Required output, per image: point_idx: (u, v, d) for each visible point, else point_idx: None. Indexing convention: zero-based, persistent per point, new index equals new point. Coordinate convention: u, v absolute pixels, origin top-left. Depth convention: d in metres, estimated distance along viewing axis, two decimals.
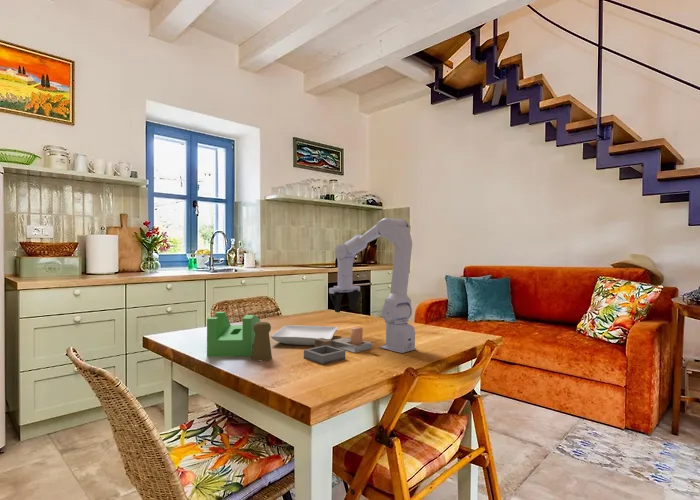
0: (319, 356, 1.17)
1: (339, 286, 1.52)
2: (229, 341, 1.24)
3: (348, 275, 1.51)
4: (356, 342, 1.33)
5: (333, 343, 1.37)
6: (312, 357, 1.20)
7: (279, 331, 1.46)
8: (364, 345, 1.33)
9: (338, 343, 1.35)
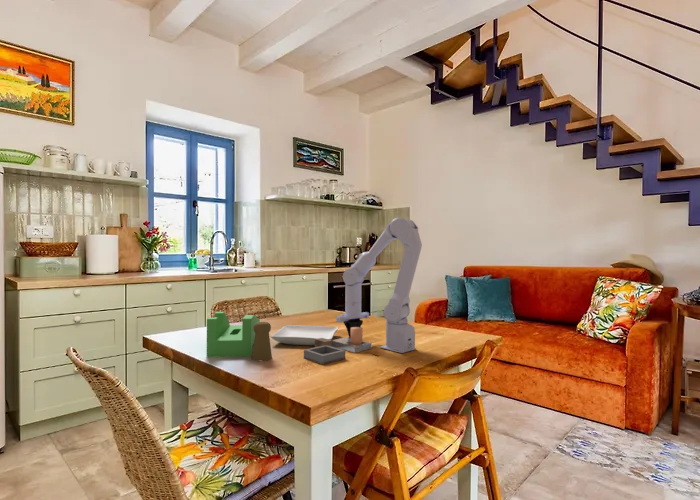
0: (319, 356, 1.17)
1: (347, 314, 1.41)
2: (229, 341, 1.24)
3: (359, 302, 1.41)
4: (356, 342, 1.33)
5: (333, 343, 1.37)
6: (312, 357, 1.20)
7: (279, 331, 1.46)
8: (364, 345, 1.33)
9: (338, 343, 1.35)
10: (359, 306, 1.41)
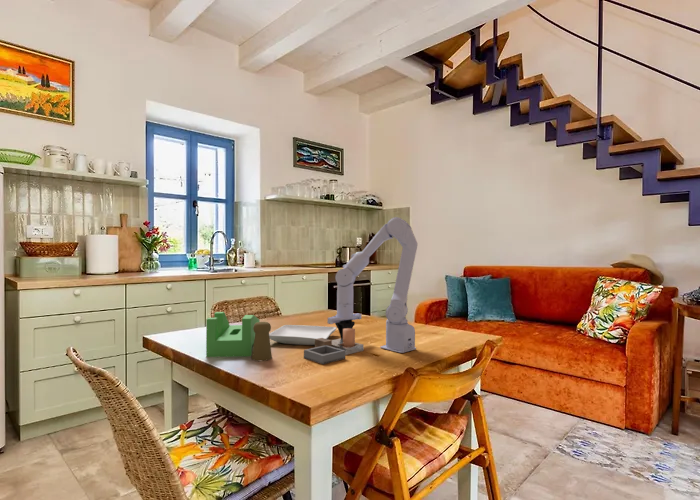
0: (319, 356, 1.17)
1: (338, 315, 1.38)
2: (229, 341, 1.24)
3: (352, 303, 1.39)
4: (348, 344, 1.30)
5: None
6: (312, 357, 1.20)
7: (277, 330, 1.47)
8: (356, 347, 1.30)
9: None
10: (351, 307, 1.38)
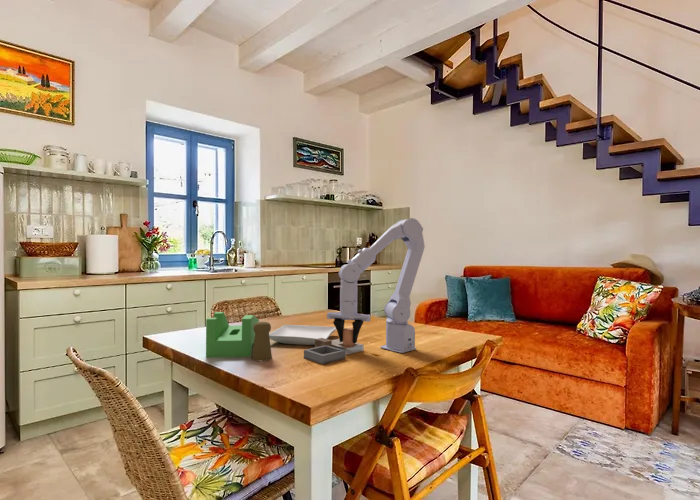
0: (319, 356, 1.17)
1: None
2: (228, 341, 1.23)
3: None
4: (347, 344, 1.30)
5: None
6: (312, 357, 1.20)
7: (277, 330, 1.47)
8: (356, 347, 1.30)
9: None
10: (347, 305, 1.29)
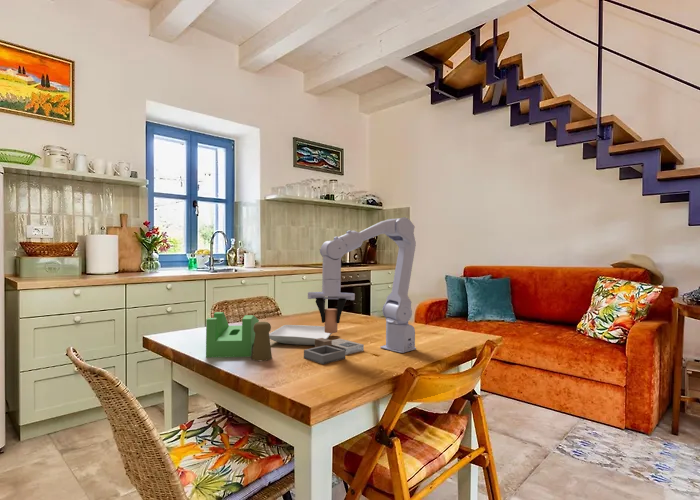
0: (319, 356, 1.17)
1: None
2: (228, 342, 1.23)
3: (340, 278, 1.25)
4: (330, 325, 1.24)
5: None
6: (312, 357, 1.20)
7: (277, 330, 1.47)
8: (356, 347, 1.30)
9: None
10: (331, 283, 1.22)
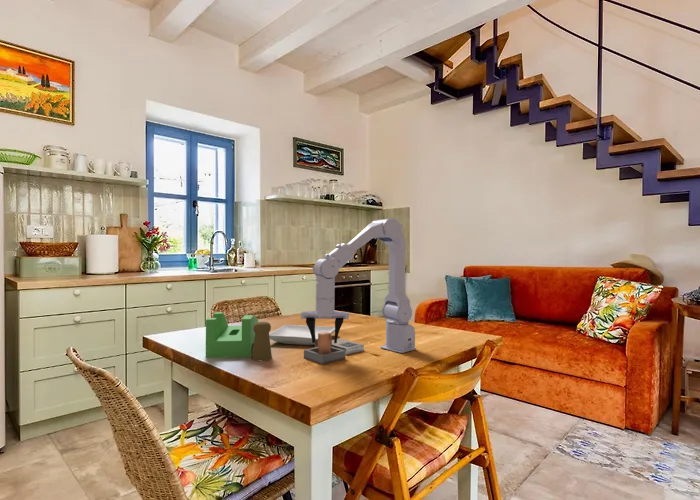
0: (319, 356, 1.17)
1: None
2: (228, 342, 1.23)
3: None
4: (324, 349, 1.21)
5: None
6: (312, 357, 1.20)
7: (277, 330, 1.47)
8: (356, 347, 1.30)
9: None
10: (325, 303, 1.20)
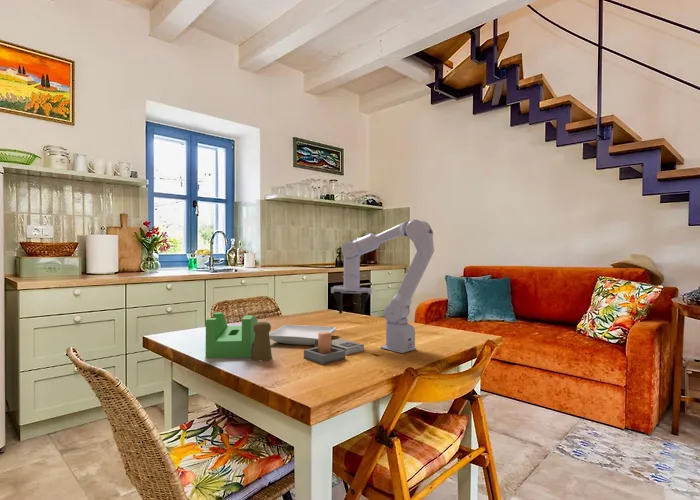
0: (319, 356, 1.17)
1: None
2: (228, 342, 1.23)
3: (357, 275, 1.41)
4: (324, 349, 1.21)
5: None
6: (312, 357, 1.20)
7: (277, 330, 1.47)
8: (356, 347, 1.30)
9: None
10: (351, 279, 1.40)
